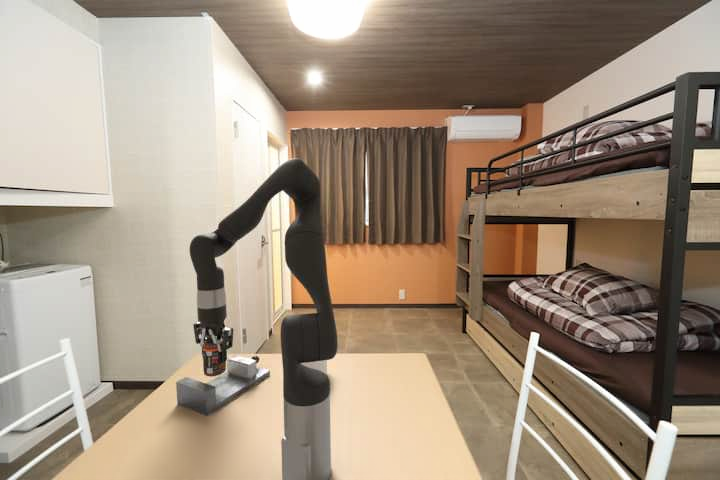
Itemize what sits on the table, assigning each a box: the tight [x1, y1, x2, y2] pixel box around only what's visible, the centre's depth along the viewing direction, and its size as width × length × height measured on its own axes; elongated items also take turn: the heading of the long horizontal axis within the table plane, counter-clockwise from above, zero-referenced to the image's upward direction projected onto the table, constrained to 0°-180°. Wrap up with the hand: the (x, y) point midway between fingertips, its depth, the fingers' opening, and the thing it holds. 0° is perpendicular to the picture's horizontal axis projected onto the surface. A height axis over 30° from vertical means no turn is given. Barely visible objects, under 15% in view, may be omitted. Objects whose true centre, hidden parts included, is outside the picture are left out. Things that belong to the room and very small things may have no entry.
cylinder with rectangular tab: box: [301, 360, 328, 376], centre depth 106 cm, size 9×9×12 cm
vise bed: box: [175, 366, 271, 417], centre depth 98 cm, size 24×12×6 cm, turn 154°
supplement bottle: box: [202, 335, 227, 378], centre depth 94 cm, size 6×6×11 cm
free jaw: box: [226, 354, 260, 380], centre depth 106 cm, size 9×9×5 cm
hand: (214, 360), depth 94 cm, fingers closed on supplement bottle, 6 cm apart
